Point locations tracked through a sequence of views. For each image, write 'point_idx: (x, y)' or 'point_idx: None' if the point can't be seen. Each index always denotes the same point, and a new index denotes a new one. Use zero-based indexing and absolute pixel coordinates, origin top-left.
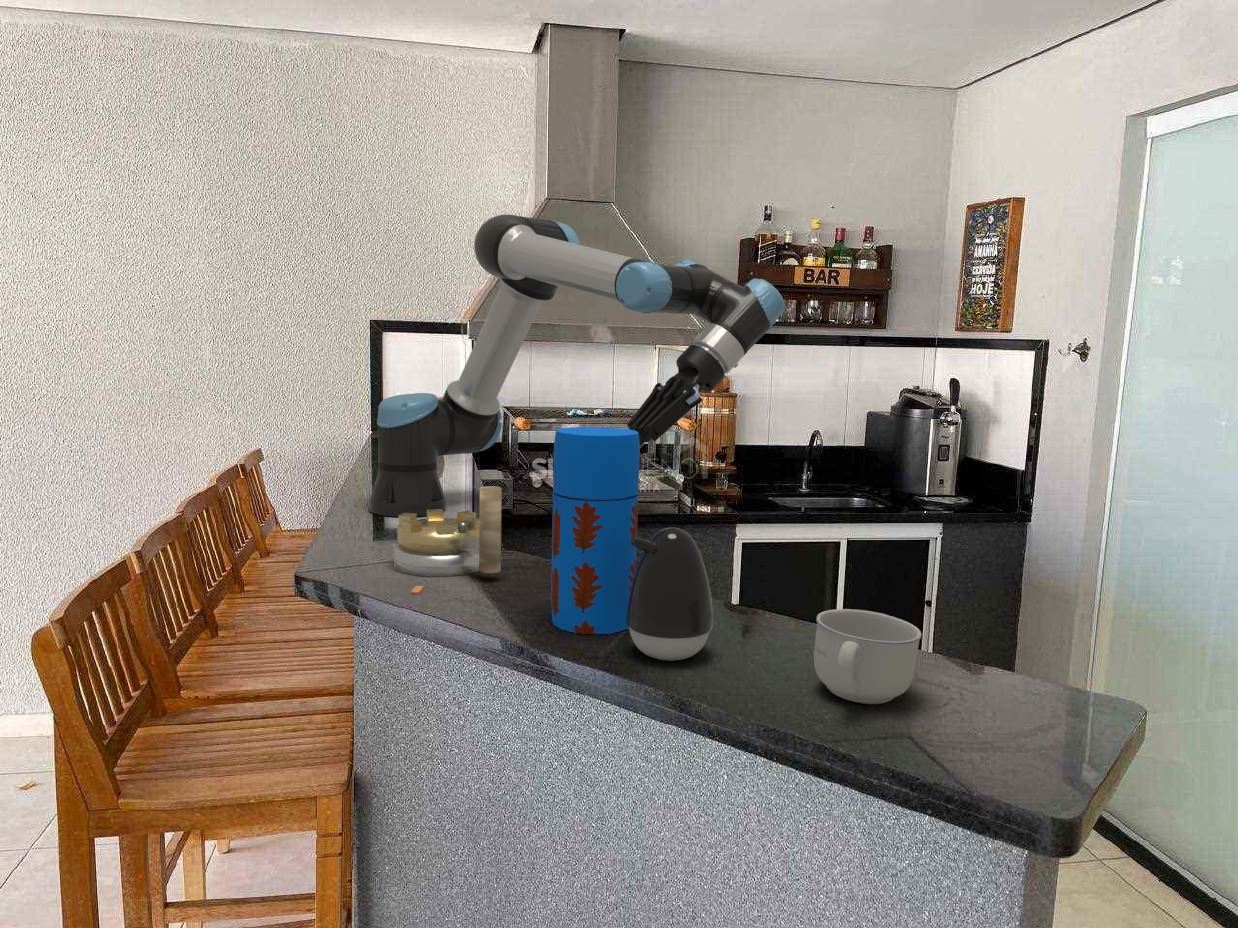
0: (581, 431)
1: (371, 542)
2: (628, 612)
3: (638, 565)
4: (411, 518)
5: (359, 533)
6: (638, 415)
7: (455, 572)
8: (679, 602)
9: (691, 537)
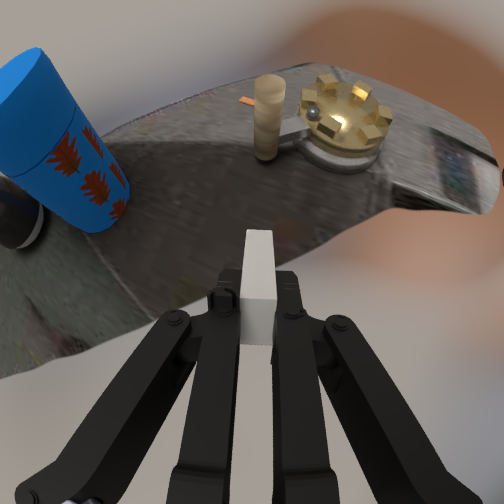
0: (8, 71)
1: (423, 123)
2: None
3: (3, 176)
4: (355, 88)
5: (451, 129)
6: (344, 364)
7: None
8: None
9: None
